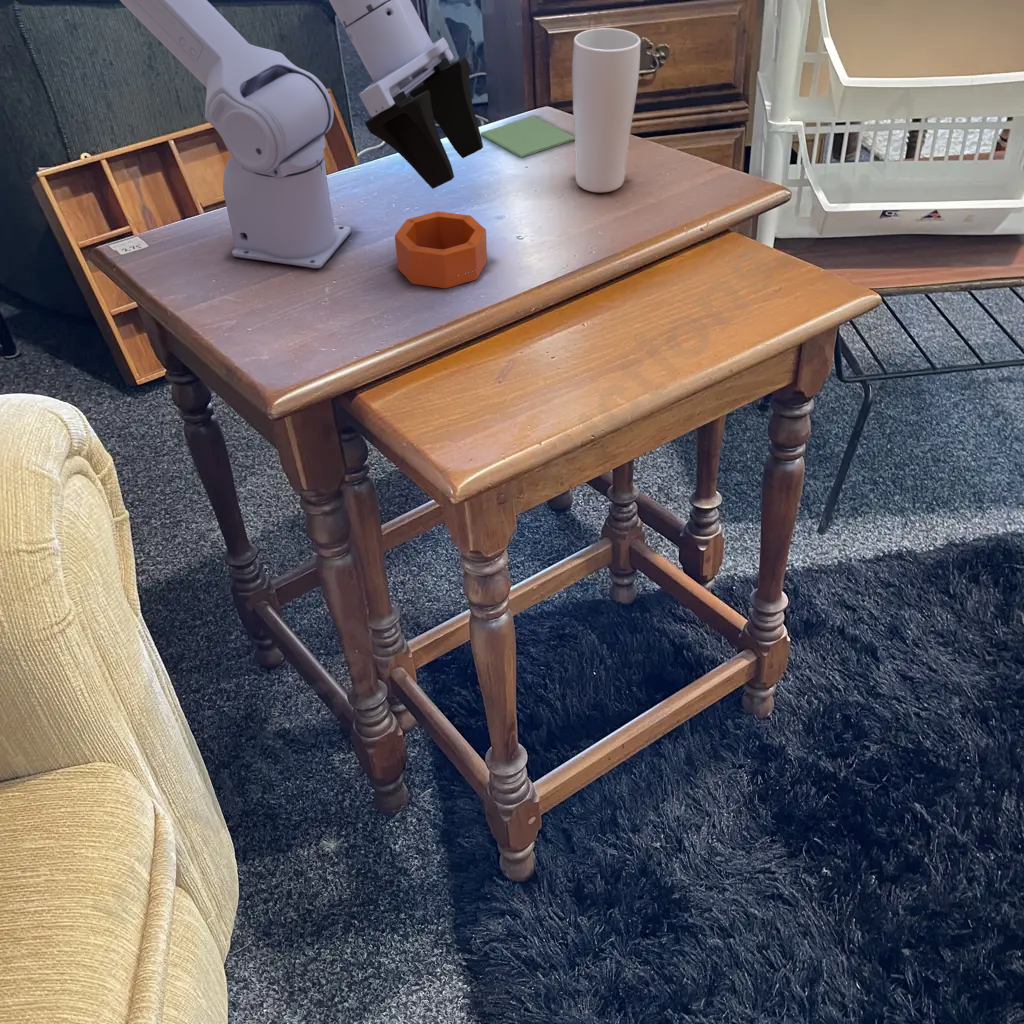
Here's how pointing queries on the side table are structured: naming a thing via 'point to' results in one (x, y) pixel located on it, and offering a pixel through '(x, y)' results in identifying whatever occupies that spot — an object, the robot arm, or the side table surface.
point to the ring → (424, 244)
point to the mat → (527, 136)
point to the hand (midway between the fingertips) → (458, 167)
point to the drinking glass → (603, 104)
